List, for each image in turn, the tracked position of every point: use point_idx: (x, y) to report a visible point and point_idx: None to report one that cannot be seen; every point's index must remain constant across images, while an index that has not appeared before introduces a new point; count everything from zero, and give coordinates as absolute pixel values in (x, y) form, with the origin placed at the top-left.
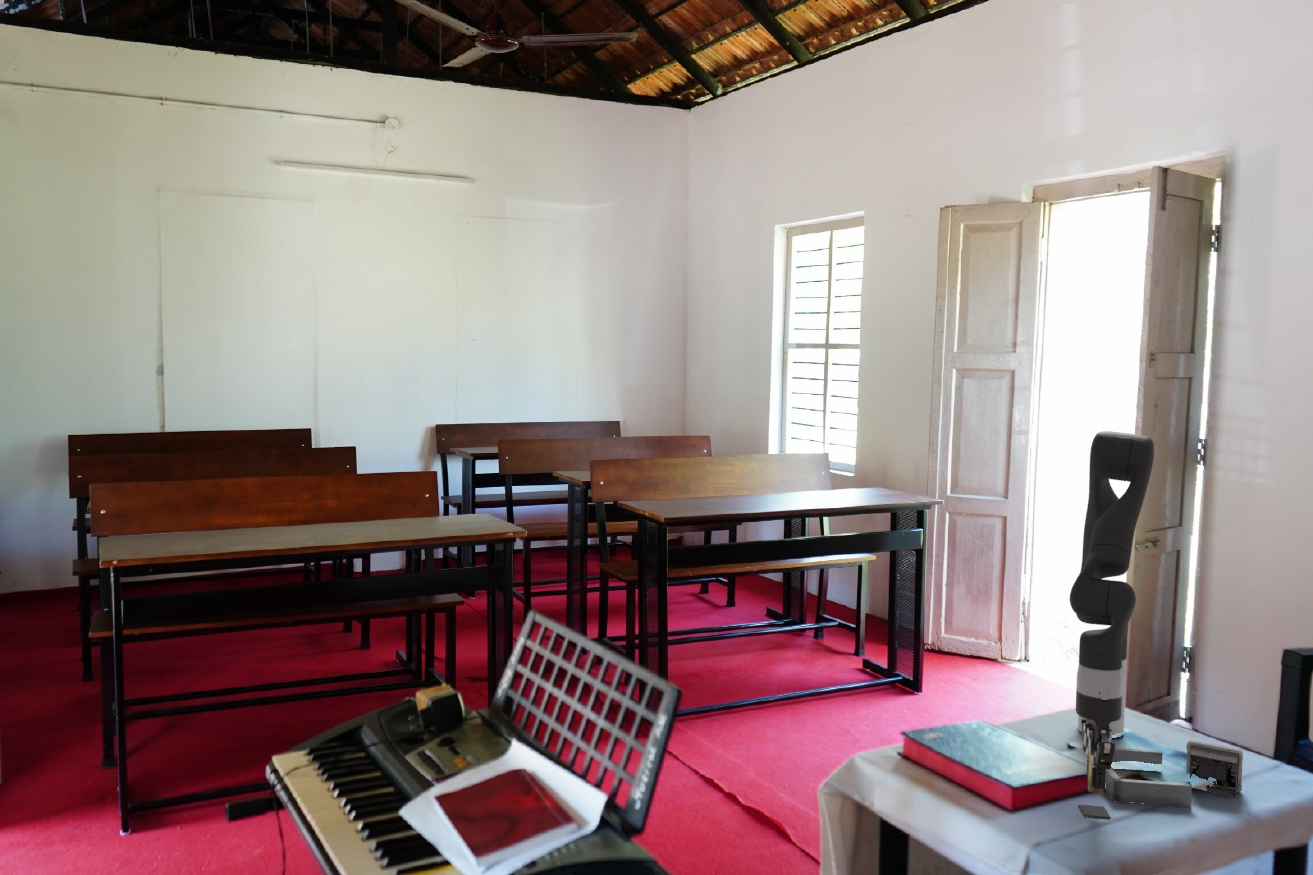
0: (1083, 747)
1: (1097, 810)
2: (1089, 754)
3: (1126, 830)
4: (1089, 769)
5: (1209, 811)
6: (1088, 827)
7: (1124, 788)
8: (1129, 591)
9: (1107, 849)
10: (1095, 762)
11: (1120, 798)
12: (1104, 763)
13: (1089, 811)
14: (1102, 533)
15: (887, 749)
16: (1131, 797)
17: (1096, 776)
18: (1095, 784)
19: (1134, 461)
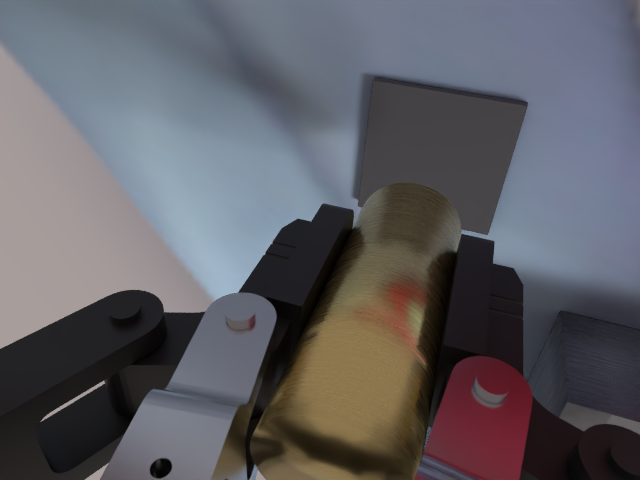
0: (626, 473)
1: (436, 180)
2: (341, 400)
3: (250, 210)
4: (366, 282)
5: None
6: (245, 45)
7: (548, 402)
8: None
9: (43, 42)
10: (100, 332)
11: (551, 347)
12: (108, 387)
13: (420, 130)
14: None
15: None
16: (536, 389)
17: (255, 268)
18: (285, 226)
19: None
